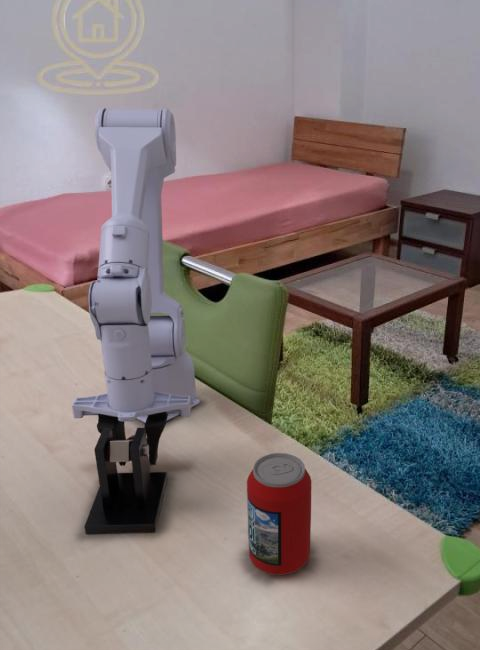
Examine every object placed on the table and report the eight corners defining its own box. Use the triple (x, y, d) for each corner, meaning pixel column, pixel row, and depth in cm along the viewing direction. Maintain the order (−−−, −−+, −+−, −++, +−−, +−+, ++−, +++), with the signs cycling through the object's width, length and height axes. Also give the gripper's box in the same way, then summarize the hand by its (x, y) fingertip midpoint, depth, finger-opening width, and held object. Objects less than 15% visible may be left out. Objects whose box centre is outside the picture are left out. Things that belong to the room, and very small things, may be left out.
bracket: (105, 480, 82) (96, 415, 78) (167, 479, 82) (161, 414, 78) (85, 534, 73) (73, 464, 69) (155, 532, 73) (148, 462, 69)
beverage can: (240, 545, 72) (237, 457, 67) (295, 529, 74) (296, 443, 69) (261, 588, 66) (259, 495, 61) (320, 569, 68) (322, 478, 63)
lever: (126, 460, 84) (127, 434, 85) (152, 459, 84) (152, 433, 85) (104, 466, 73) (104, 436, 73) (134, 466, 73) (134, 436, 73)
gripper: (59, 385, 74) (74, 480, 80) (183, 383, 75) (190, 478, 81) (75, 359, 81) (89, 449, 86) (190, 358, 81) (196, 446, 87)
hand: (138, 461), depth 84 cm, fingers closed on lever, 3 cm apart
